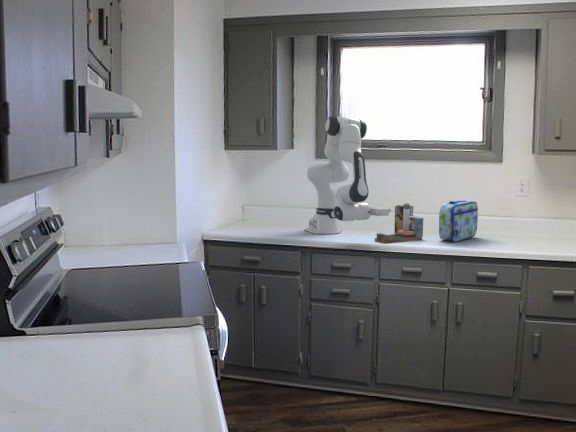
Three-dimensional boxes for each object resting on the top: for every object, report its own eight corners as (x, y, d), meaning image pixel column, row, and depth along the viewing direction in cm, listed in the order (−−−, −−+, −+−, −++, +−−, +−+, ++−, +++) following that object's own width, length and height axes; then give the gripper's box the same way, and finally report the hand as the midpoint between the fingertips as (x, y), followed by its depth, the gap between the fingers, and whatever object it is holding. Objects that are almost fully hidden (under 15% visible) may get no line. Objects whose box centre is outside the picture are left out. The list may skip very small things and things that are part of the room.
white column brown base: (397, 233, 335) (397, 202, 333) (405, 232, 338) (406, 202, 336) (406, 235, 329) (407, 204, 327) (414, 234, 332) (415, 203, 330)
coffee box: (413, 234, 350) (414, 205, 348) (409, 236, 344) (410, 207, 342) (397, 233, 354) (398, 204, 352) (393, 234, 348) (394, 206, 346)
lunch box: (453, 243, 321) (455, 203, 318) (435, 241, 329) (437, 201, 326) (479, 237, 339) (481, 199, 336) (461, 235, 347) (463, 197, 344)
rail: (374, 240, 329) (374, 218, 327) (409, 236, 342) (410, 215, 341) (386, 243, 321) (387, 221, 319) (422, 239, 334) (423, 217, 332)
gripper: (376, 206, 307) (397, 205, 314) (350, 203, 324) (371, 201, 331) (376, 219, 308) (397, 217, 315) (350, 215, 325) (371, 213, 332)
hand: (384, 209), depth 323 cm, fingers open, 8 cm apart
